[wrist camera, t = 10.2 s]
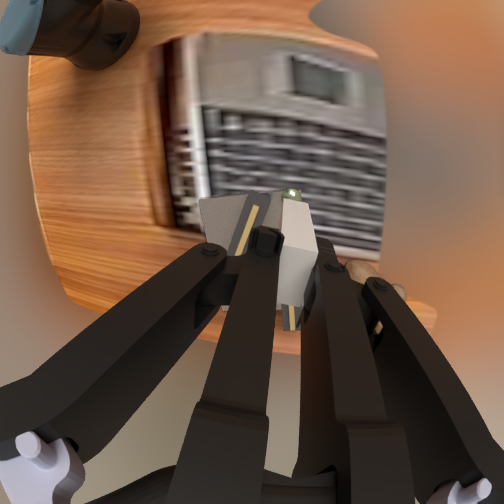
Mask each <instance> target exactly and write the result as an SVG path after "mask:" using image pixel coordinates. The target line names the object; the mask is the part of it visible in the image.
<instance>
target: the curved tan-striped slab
mask: <svg viewBox="0 0 504 504" xmlns="http://www.w3.org/2000/svg"><path fill="white" fill-rule="evenodd" d="M281 308H282V320H283V331H295V330H301V324H300V325H299V327H298V328H296V324H297V322H298V319H299V316H300V314H301V311H302V303H301V306H300V307H296V306H291V305H286V304H281Z"/></svg>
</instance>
